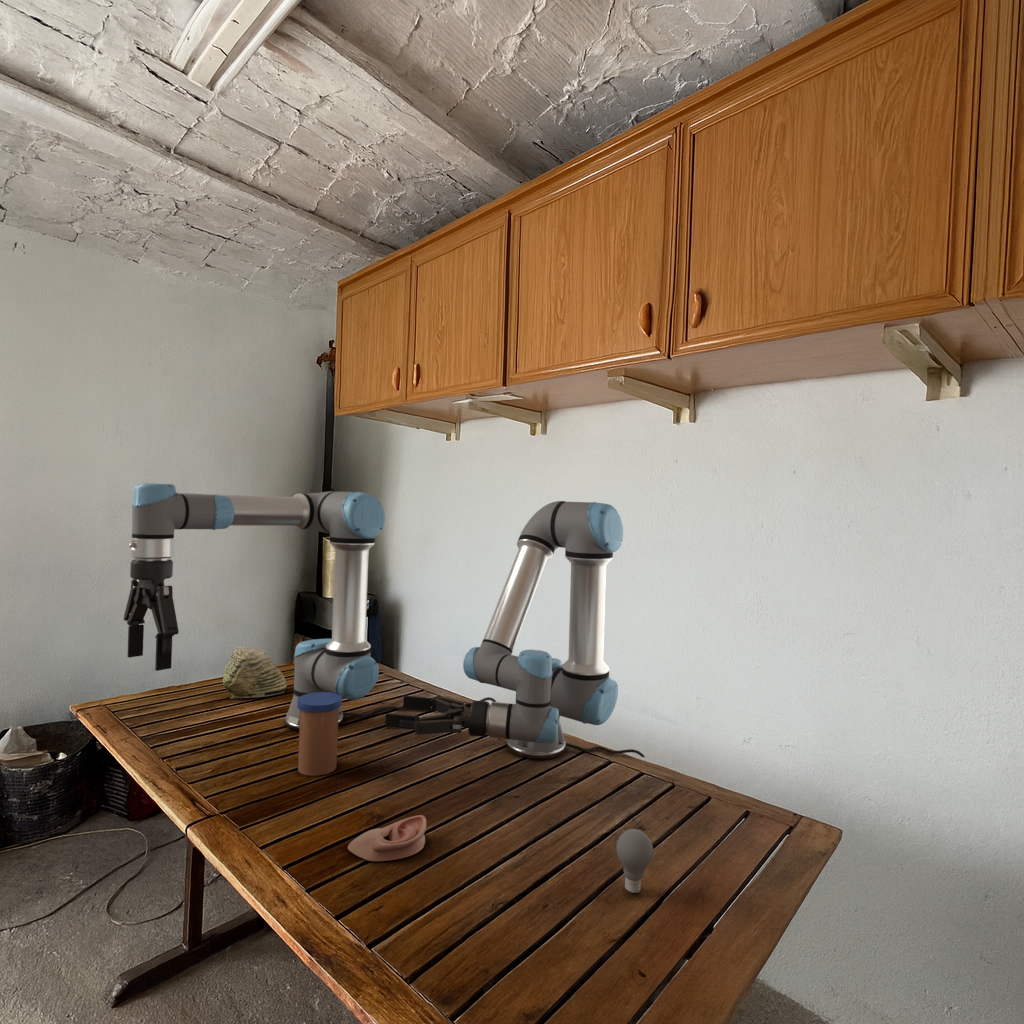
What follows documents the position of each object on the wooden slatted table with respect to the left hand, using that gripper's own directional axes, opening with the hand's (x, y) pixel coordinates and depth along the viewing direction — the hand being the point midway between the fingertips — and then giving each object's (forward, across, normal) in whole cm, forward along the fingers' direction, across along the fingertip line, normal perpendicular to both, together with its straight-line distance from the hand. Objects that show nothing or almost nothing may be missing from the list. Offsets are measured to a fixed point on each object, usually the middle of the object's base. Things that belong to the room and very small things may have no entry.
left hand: (148, 662), depth 129 cm
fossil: (+28, -47, +50) cm, 74 cm away
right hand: (+12, +30, +40) cm, 52 cm away
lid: (+12, +12, +33) cm, 37 cm away
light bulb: (+28, +90, +41) cm, 103 cm away
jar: (+28, +12, +33) cm, 45 cm away
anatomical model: (+28, +50, +22) cm, 61 cm away
